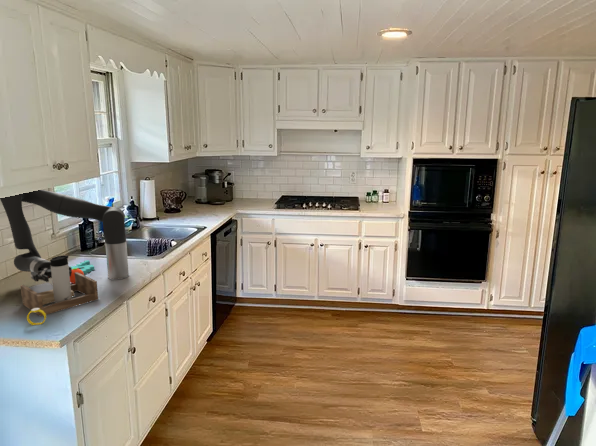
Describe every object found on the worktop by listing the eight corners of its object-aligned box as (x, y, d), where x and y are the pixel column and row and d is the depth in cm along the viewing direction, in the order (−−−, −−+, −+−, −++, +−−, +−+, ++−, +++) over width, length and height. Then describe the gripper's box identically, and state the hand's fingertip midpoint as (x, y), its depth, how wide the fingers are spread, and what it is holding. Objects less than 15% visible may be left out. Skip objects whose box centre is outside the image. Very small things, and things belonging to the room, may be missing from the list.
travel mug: (71, 305, 176) (66, 258, 172) (52, 307, 175) (47, 259, 170) (74, 299, 182) (70, 253, 178) (57, 301, 180) (52, 254, 176)
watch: (27, 327, 158) (24, 312, 156) (30, 324, 160) (26, 309, 159) (45, 324, 159) (42, 309, 158) (48, 321, 162) (45, 306, 160)
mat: (21, 289, 192) (21, 288, 192) (48, 283, 201) (47, 282, 201) (31, 296, 186) (31, 295, 185) (58, 288, 194) (58, 288, 194)
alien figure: (45, 270, 219) (51, 282, 203) (45, 266, 219) (50, 277, 203) (89, 264, 231) (97, 274, 215) (88, 260, 230) (97, 270, 214)
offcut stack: (36, 302, 180) (35, 293, 179) (69, 293, 189) (68, 285, 189) (41, 306, 176) (40, 296, 176) (74, 297, 186) (74, 288, 185)
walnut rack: (22, 304, 177) (20, 285, 175) (78, 289, 194) (77, 272, 192) (40, 316, 166) (38, 296, 164) (98, 299, 183) (96, 281, 181)
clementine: (66, 281, 203) (65, 266, 202) (83, 279, 207) (82, 264, 205) (68, 286, 197) (67, 271, 195) (85, 284, 200) (84, 269, 199)
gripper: (23, 263, 181) (38, 272, 171) (59, 256, 192) (76, 263, 182) (25, 280, 183) (41, 290, 172) (61, 272, 193) (77, 281, 183)
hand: (59, 276), depth 177 cm, fingers open, 8 cm apart
